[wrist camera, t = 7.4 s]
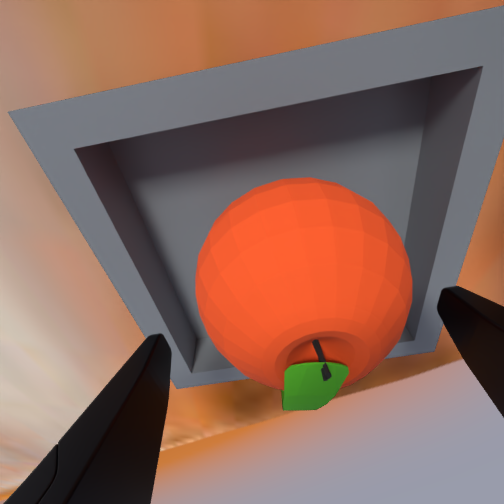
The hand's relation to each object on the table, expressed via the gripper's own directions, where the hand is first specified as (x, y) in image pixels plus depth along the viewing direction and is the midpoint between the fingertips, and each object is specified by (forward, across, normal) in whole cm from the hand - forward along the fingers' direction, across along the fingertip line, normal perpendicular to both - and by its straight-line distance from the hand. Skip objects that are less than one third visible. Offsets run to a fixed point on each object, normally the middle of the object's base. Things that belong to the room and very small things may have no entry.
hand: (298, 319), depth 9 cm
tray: (+6, 0, 0) cm, 6 cm away
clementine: (+5, 0, 0) cm, 5 cm away
